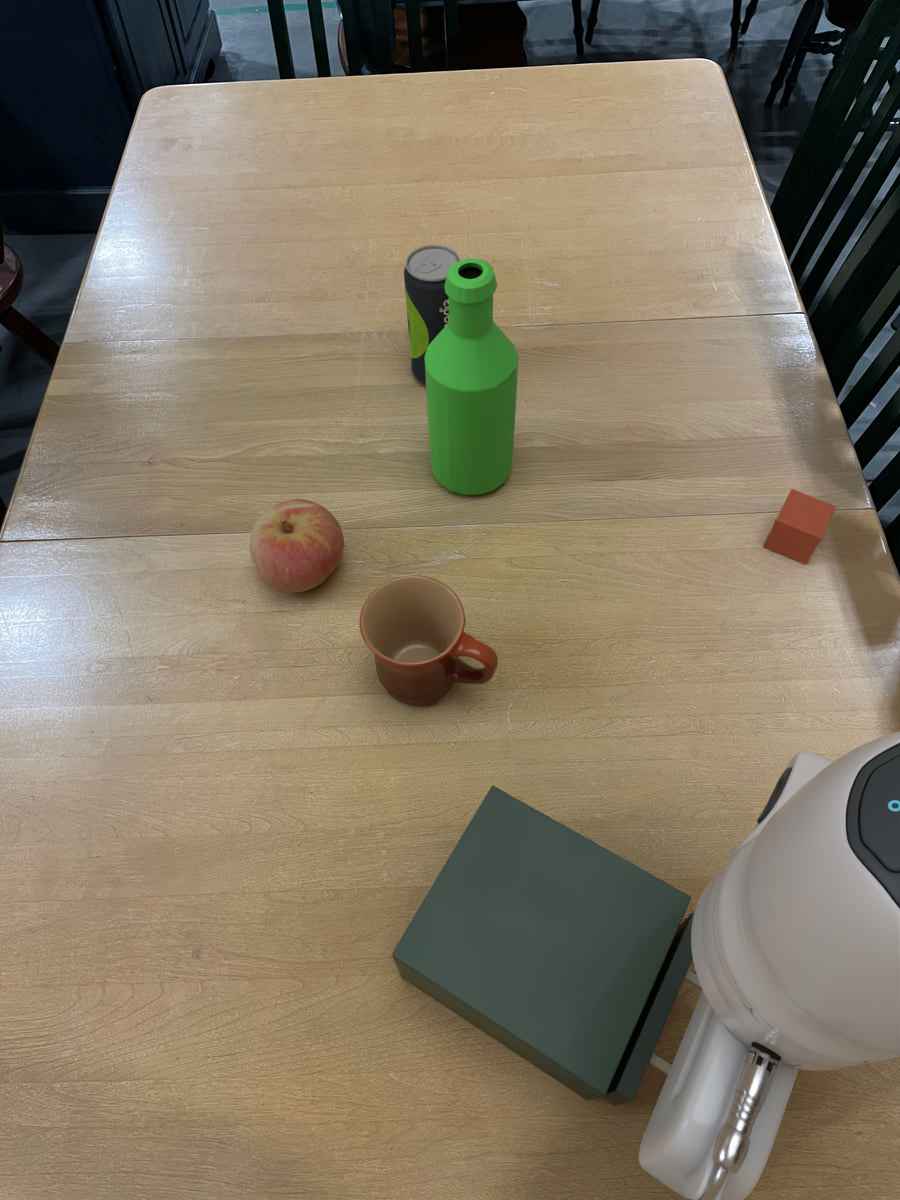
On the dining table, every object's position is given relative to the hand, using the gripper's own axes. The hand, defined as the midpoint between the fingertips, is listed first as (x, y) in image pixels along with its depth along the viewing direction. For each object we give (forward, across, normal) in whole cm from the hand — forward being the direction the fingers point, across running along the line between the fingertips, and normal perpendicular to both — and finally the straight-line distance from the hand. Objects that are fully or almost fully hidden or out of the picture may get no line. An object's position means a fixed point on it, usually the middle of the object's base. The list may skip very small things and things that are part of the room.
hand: (722, 993), depth 47 cm
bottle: (+19, +40, +39) cm, 59 cm away
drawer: (+18, 0, +6) cm, 19 cm away
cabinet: (+19, 0, +10) cm, 22 cm away
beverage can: (+19, +51, +50) cm, 74 cm away
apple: (+19, +20, +47) cm, 55 cm away
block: (+19, +48, +6) cm, 52 cm away
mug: (+19, +16, +29) cm, 39 cm away
